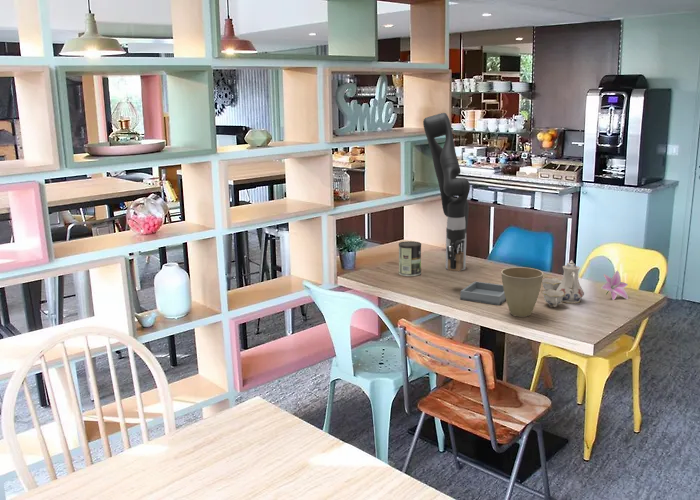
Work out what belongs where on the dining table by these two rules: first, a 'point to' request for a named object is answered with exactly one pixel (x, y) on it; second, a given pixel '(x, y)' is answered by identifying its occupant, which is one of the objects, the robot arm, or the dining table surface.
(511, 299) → the plant pot
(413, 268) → the coffee can
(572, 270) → the chinaware
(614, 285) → the lily
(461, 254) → the walnut block
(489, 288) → the grey tray
